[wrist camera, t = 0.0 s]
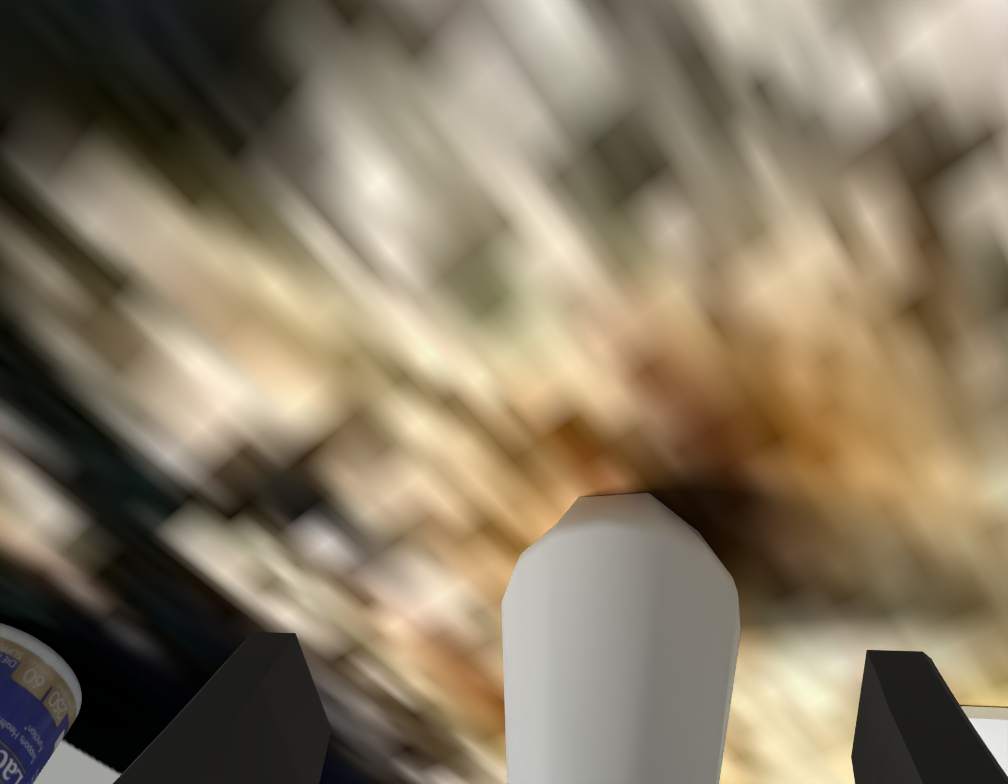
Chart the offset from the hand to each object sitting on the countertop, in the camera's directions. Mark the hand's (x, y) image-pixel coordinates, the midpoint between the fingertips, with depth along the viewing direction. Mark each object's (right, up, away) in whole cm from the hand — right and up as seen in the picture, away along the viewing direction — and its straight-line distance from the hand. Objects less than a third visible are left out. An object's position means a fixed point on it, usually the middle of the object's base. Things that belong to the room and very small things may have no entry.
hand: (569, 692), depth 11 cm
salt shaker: (+2, 0, +12) cm, 12 cm away
